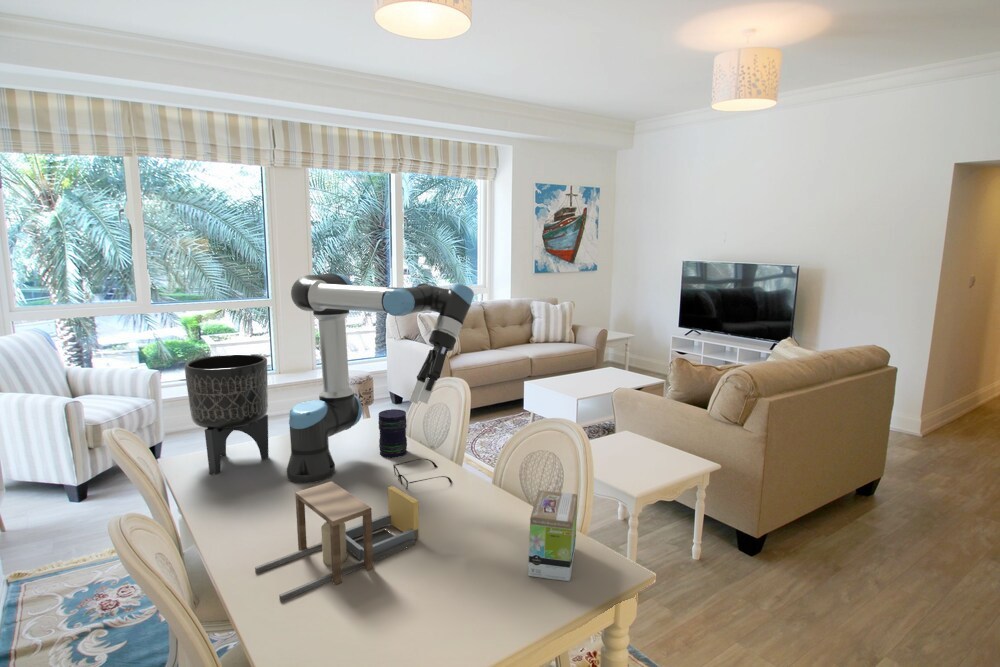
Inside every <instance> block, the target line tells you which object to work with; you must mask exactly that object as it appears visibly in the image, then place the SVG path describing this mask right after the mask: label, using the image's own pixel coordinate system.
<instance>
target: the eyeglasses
mask: <svg viewBox="0 0 1000 667" xmlns="http://www.w3.org/2000/svg"><path fill="white" fill-rule="evenodd" d="M419 460H421V458H418V459H414V460H408V461H404V462H400V463H397V464H396V463H395V464H393V465H392V467H393V471H394V472H393V473H394V476H395V475H396V476H398V480H399V481H400V484H401V485H402V484H403V480H405V482H406V488H405V490H406V489H407V490H408V489H409V488H408V487H409V484H413V483H417V482H422V481H427V480H432V479H436V478H438V476H436V477H430V478H423V479H418V480H413V481H408V480H407V478H406V477H405V476H404V475H402V474H400V472H399V469H398V468H397V466H398V465H403V464H407V463H410V462H414V461H415V462H416V461H419ZM424 460H426V461H428V462H430V463H431V464H432V465H433V466H434V468H438V465H437V464H436V463H435V462H434V460H431V459H428V458H424ZM396 473H397V474H398V475H397V474H396ZM439 478H446V479H447V480H448V482H449V483H452V482H453V481H452V479H451V478H450V477H449V476H445V475H441V476H439ZM398 480H397V481H398ZM451 481H452V482H451Z"/></svg>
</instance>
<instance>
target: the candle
mask: <svg viewBox="0 0 1000 667" xmlns="http://www.w3.org/2000/svg"><path fill="white" fill-rule="evenodd" d="M339 527H340V551H341V564H343V563H344V562H346V560H347V557H348V554H347V548H346V522H344V523H341V524H339ZM320 530H321V531H320V532H321V542H322V549H321V551H322V561H323V563H324V564H325V565H327V566H332V560H331V538H330V524H329V523H328V522H327V521H325V522H324V523H323V525H322V526H321V529H320Z"/></svg>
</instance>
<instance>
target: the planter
mask: <svg viewBox="0 0 1000 667" xmlns="http://www.w3.org/2000/svg"><path fill="white" fill-rule="evenodd" d="M184 374H185V382H186V390H187V395H188V396H187V397H188V404H189V410H190V418H191V421H192V423H194V425H196V426H198V427H201V428H205V429H204V437H205V445H206V446H205V447H206V453H207V455H206V456H207V463H208V473H209V474H210V475H218V474H220V473H222V472H221V471H222V470H221V467H222V466H221V465H222V456H225V455H227V439H228V437H229V436H230V435H231V433H233V432H235V431H236V432H237V431H238V432H242V433H245V434H246V435H247V436H250V438H252V439H253V441H254V442H255V444H256V445H257V448H258V450H259V455H260V459H261V461H262V460H268V459H269V457H270V456H269V414H268V409H269V407H268V406H269V399H268V397H269V395H268V394H269V392H268V386H269V385H268V384H269V382H268V359H267V357H265V356H263V355H259V354H249V353H248V354H247V353H246V354H245V353H236V354H234V353H232V354H231V353H230V354H222V355H221V354H219V355H212V356H211V355H210V356H206V357H200V358H195V359H193V360H192V359H191V360H189V361H188V362H185V364H184Z"/></svg>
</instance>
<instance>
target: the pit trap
mask: <svg viewBox="0 0 1000 667" xmlns="http://www.w3.org/2000/svg"><path fill="white" fill-rule="evenodd" d="M385 529H386V530H385ZM388 531H389V532H390V533H389V532H388ZM391 531H392V530H390V529H388V528H387V527H382V528H380V529H377V530H374V531H372V541H373V544H376V543H378V542H381V541H383V540H386V539H388V538H391V537H393V536H396V535H397V534H396V533H395V532H393V531H392V533H393V534H392V533H391ZM353 540H354V541H355V542H356V543H357V544H359V545H360V546H361V547H362V548H364V543H363V536H359V537H356V538H354V539H353Z"/></svg>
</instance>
